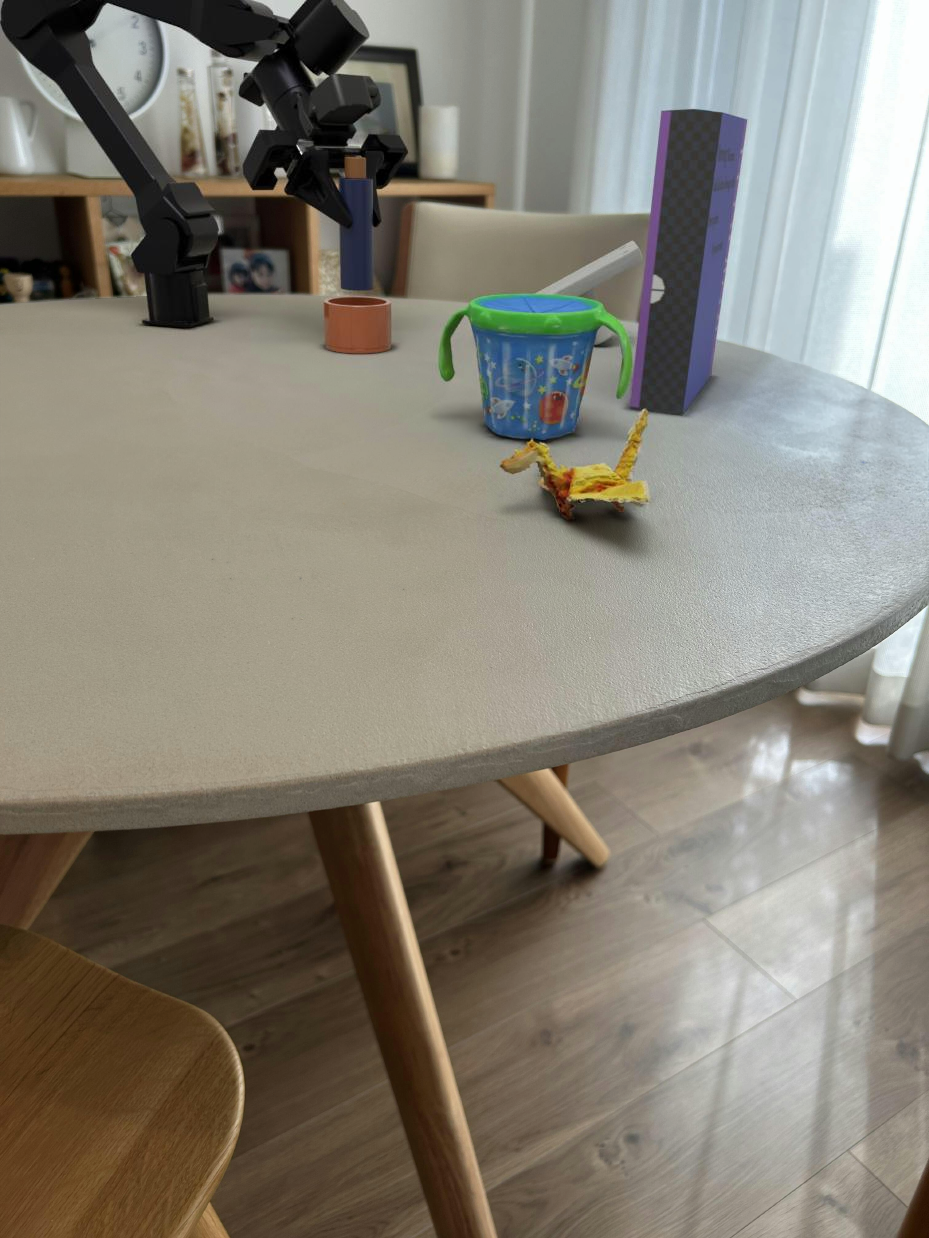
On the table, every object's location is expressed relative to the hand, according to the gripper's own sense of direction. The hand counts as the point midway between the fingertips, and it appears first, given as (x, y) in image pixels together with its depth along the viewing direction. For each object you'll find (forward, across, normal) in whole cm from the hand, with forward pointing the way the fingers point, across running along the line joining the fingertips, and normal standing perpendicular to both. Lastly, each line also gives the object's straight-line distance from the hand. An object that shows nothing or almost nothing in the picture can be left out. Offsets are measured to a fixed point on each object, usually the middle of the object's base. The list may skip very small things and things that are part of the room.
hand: (364, 225), depth 101 cm
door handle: (+14, +24, +4) cm, 28 cm away
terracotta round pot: (+8, 0, +10) cm, 13 cm away
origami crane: (+44, -23, -26) cm, 56 cm away
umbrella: (+4, 0, +6) cm, 7 cm away
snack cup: (+33, -11, -15) cm, 38 cm away
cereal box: (+33, +10, -15) cm, 38 cm away
